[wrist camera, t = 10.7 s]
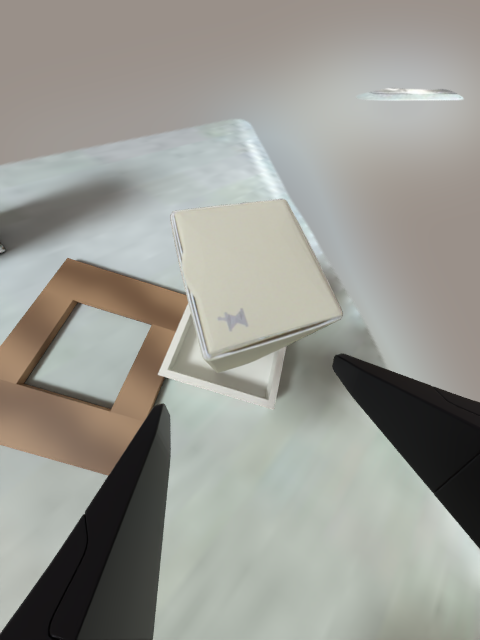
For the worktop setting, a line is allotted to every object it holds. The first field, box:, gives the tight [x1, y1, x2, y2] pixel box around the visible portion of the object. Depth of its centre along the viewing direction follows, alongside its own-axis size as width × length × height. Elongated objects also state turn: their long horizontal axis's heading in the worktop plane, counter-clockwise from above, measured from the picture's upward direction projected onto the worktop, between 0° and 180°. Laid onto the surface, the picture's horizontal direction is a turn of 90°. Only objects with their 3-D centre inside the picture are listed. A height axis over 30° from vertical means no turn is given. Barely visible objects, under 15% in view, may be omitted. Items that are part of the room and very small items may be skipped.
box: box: [170, 199, 343, 373], centre depth 11 cm, size 5×4×13 cm
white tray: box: [158, 303, 286, 410], centre depth 17 cm, size 10×10×2 cm
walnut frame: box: [0, 258, 188, 475], centre depth 16 cm, size 16×14×1 cm
